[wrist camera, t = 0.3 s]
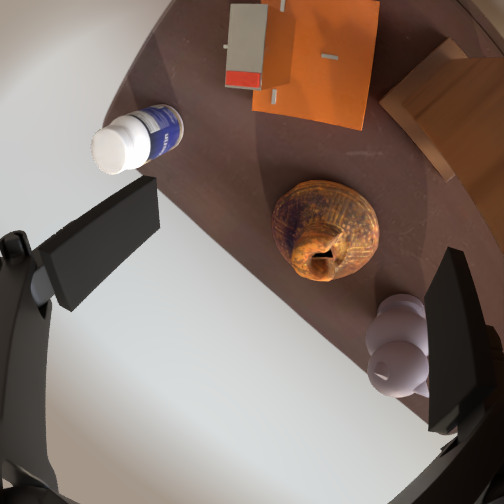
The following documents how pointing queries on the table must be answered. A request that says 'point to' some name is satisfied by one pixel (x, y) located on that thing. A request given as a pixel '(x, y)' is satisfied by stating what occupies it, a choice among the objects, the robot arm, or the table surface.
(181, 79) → the table surface
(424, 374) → the cat figurine
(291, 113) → the orange flat square block
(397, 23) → the table surface
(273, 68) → the steel brick red tip
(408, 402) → the table surface
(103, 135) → the pill bottle
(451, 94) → the brown wooden square column
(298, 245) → the brown rounded piece
